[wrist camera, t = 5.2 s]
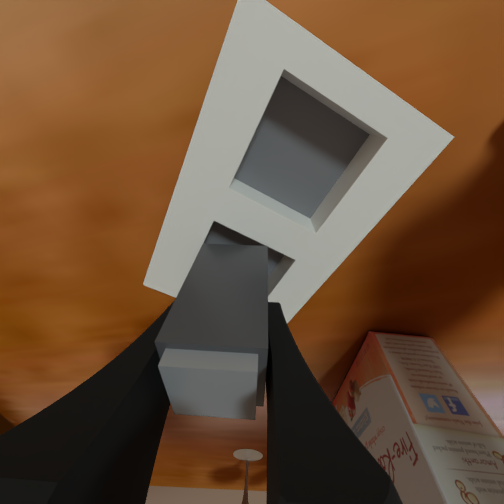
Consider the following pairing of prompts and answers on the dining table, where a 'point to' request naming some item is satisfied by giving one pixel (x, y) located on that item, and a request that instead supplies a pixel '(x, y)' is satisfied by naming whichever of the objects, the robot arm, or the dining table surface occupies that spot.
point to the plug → (218, 334)
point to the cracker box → (422, 422)
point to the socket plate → (289, 158)
